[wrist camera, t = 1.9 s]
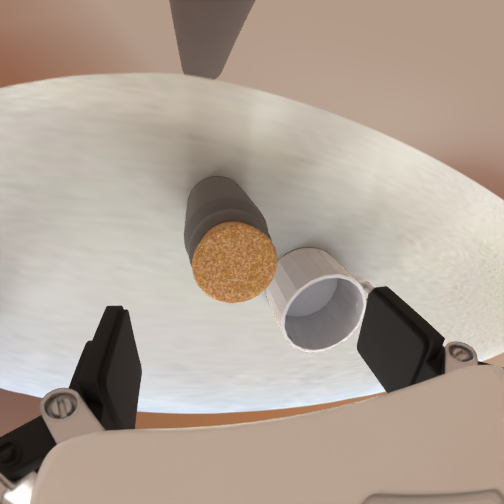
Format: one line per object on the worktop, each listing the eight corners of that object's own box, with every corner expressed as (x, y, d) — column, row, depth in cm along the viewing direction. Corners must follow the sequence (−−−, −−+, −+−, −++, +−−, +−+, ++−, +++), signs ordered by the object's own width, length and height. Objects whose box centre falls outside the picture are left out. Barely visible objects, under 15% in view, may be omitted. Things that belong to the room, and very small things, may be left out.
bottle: (249, 179, 30) (296, 219, 16) (241, 234, 32) (277, 313, 18) (190, 173, 29) (185, 209, 15) (184, 230, 31) (179, 309, 17)
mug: (263, 320, 37) (277, 357, 30) (266, 249, 33) (284, 278, 27) (356, 309, 39) (382, 340, 32) (368, 244, 35) (400, 268, 29)
